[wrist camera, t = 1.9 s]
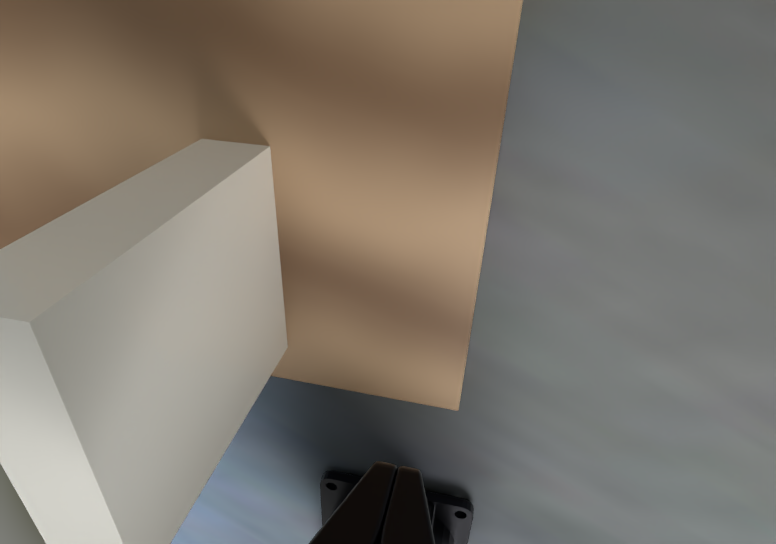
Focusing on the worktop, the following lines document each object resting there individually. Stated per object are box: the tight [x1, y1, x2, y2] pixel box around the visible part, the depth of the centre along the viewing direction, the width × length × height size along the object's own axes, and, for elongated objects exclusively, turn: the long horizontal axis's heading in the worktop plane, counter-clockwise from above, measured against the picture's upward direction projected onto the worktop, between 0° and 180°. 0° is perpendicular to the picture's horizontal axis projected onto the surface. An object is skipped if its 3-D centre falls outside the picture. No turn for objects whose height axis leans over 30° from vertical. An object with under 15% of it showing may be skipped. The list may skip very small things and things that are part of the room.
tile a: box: [0, 139, 288, 544], centre depth 12 cm, size 7×2×8 cm, turn 178°
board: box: [0, 0, 523, 411], centre depth 13 cm, size 22×17×1 cm
